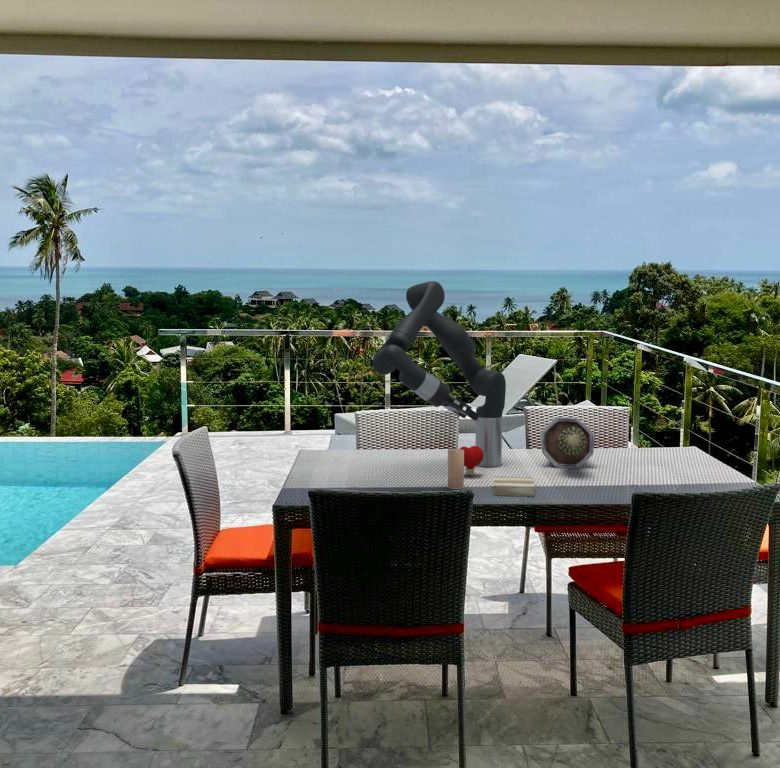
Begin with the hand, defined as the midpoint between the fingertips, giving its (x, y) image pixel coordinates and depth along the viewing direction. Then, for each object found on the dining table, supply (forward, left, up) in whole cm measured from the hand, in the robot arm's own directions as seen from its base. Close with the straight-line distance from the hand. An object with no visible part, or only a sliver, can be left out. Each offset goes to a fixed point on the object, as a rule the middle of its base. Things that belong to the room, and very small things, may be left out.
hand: (471, 417), depth 261 cm
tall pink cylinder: (0, -5, -23) cm, 23 cm away
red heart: (-16, -1, -23) cm, 28 cm away
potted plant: (-31, +32, -23) cm, 50 cm away
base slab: (+2, +13, -23) cm, 26 cm away
